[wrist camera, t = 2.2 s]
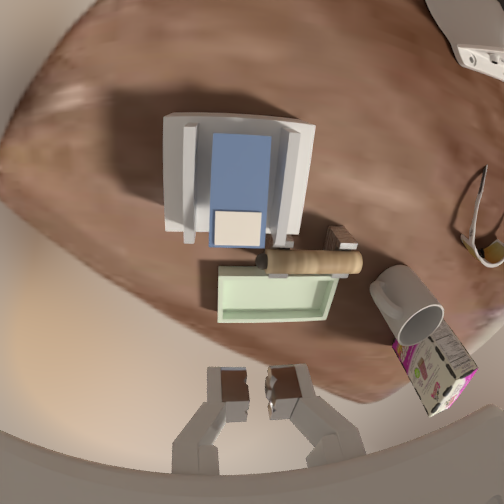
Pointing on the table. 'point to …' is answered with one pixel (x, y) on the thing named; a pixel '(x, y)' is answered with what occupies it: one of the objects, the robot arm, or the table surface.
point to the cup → (406, 305)
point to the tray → (272, 296)
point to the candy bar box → (437, 368)
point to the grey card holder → (200, 159)
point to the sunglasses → (493, 252)
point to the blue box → (239, 190)
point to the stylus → (309, 262)
